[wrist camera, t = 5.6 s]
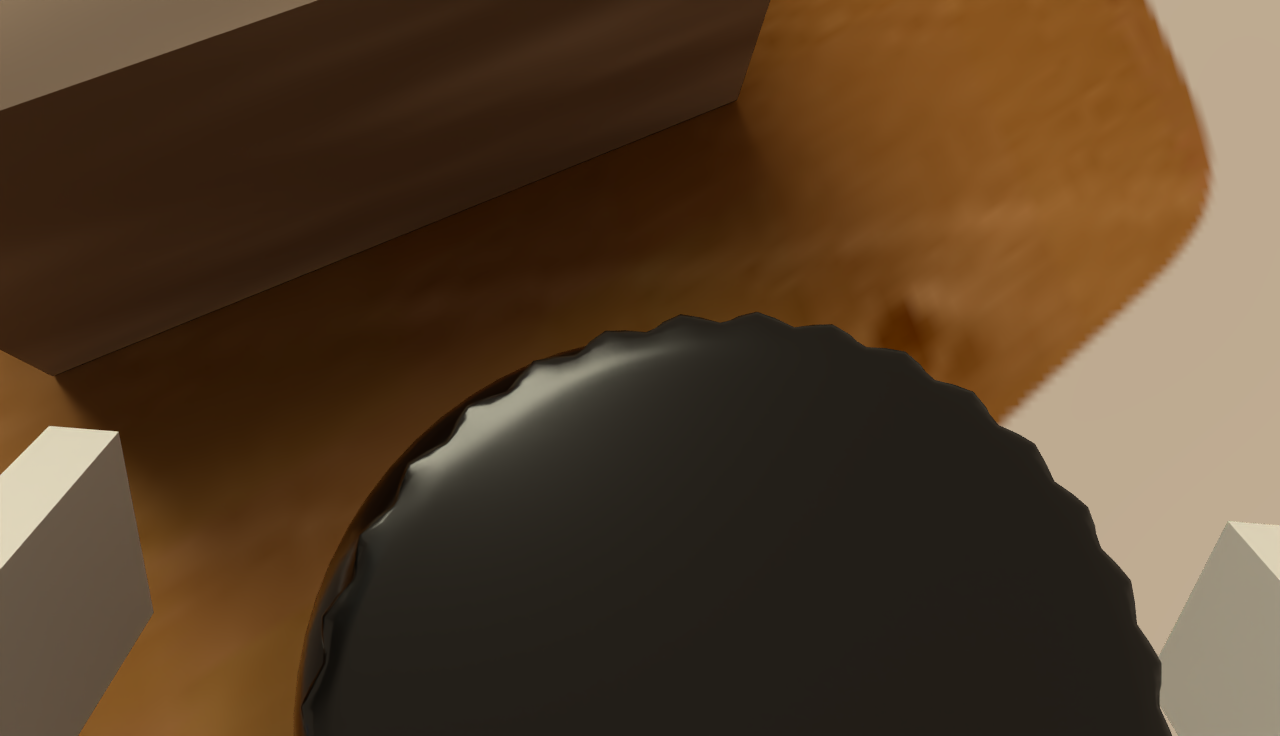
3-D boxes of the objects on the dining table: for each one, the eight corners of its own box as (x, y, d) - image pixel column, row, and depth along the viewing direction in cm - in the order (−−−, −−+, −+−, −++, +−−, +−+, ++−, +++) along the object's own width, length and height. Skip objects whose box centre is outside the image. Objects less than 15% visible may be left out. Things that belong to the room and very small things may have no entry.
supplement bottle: (790, 456, 18) (1220, 129, 6) (844, 857, 16) (1589, 1441, 4) (416, 486, 17) (117, 179, 5) (429, 908, 15) (28, 1767, 4)
